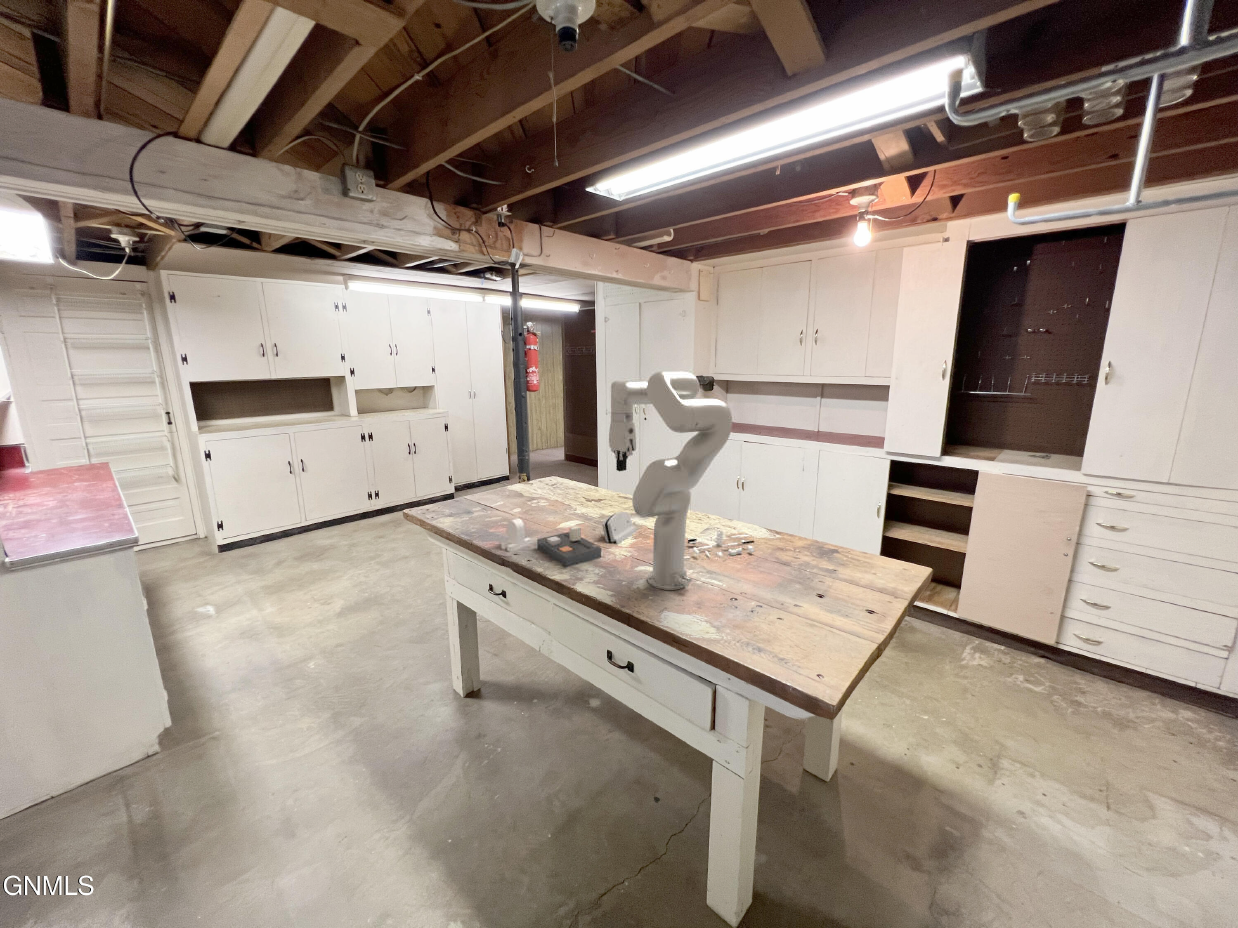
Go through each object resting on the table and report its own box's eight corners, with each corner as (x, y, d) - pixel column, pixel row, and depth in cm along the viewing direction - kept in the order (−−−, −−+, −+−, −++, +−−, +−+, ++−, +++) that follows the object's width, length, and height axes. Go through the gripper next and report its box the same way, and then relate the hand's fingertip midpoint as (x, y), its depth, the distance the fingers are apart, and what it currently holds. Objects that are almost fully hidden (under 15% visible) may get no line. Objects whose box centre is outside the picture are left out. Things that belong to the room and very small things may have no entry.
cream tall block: (580, 539, 169) (580, 527, 168) (573, 541, 167) (573, 529, 166) (577, 537, 171) (577, 525, 170) (569, 539, 169) (569, 527, 168)
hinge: (617, 544, 175) (609, 519, 174) (606, 546, 177) (599, 521, 177) (637, 531, 189) (630, 507, 189) (627, 532, 192) (620, 509, 191)
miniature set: (748, 540, 179) (763, 557, 168) (658, 551, 173) (668, 570, 162) (749, 525, 177) (765, 541, 166) (658, 536, 171) (668, 554, 160)
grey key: (560, 545, 167) (560, 539, 167) (552, 548, 165) (552, 541, 165) (555, 542, 170) (555, 536, 169) (547, 545, 168) (547, 538, 167)
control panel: (601, 557, 164) (601, 547, 163) (566, 567, 155) (566, 557, 154) (570, 540, 179) (570, 531, 178) (537, 548, 171) (537, 539, 170)
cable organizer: (531, 543, 175) (530, 517, 173) (510, 551, 168) (509, 525, 166) (521, 540, 179) (520, 515, 176) (500, 548, 171) (499, 521, 169)
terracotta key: (573, 556, 161) (572, 549, 161) (564, 558, 159) (564, 551, 159) (567, 552, 164) (567, 546, 164) (558, 555, 162) (558, 548, 161)
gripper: (644, 419, 157) (643, 473, 161) (617, 415, 169) (616, 465, 173) (626, 420, 153) (626, 476, 157) (600, 416, 165) (600, 467, 168)
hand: (621, 470), depth 165 cm, fingers closed
